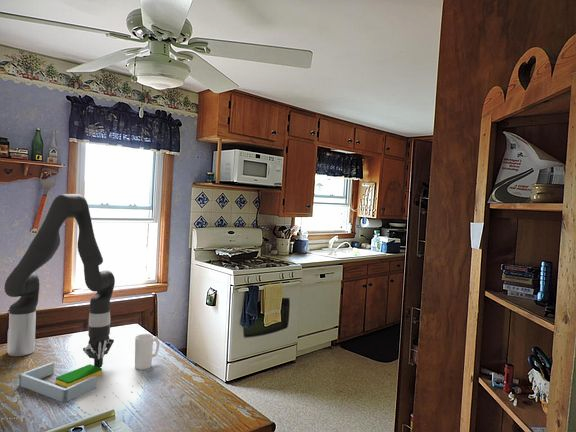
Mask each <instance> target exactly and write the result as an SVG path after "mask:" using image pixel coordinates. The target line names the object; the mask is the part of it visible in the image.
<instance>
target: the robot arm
mask: <svg viewBox="0 0 576 432" xmlns="http://www.w3.org/2000/svg"><path fill="white" fill-rule="evenodd" d="M71 218H72V219H73V218H74V219H75V221H76V223H77V225H78V226H77V227H78V238H77V251H78V254H79V257H80V259H81V262H82V264H83V274H84V283H85V285H86V287H87V289H89V291H92V292H95V293H96V294H95V295H94V296H92V297H91V298H90V301H89V315H88V331H87V332H88V337H89V340H88V342H87V343H88V344H87V346H86V347H83V348H82V351H83V352H84V353H85V354H86V356H88V357H89V359H93V362H94V363H93V365H94V366H97V367H100V368H102V367H103V364H104V357H105V355H108V353H109V351H110V349H111V347H112V346H113V344H114V342H115V340H114V339H112V338H110V334H111V313H110V312H111V299H112V296H113V292H114V288H115V283H116V281H115V280H116V279H115V276H114V274H113V273H112V272H113V271H110V270H102V271H100V266H101V265H102V264H103V263H104V258H103V256H102V252H101V251H100V248H99V246H98V243H97V241H96V237H95V232H94V228H93V223H92V217H91V213H90V207H89V205H88V202H87V199H86V198H85V196H83V195H82V194H78V193H62V194H58V195H57V196H55V198H54V199H53V200H52V203H51V204H50V206H49V209H48V212H47V214H46V216H45V218H44V221H43V222H42V224H41V226H40V227H39V230H38V232H37V233H36V234H35V236H34V237H33V239H32V241H31V242H30V244H29V246H28V248H27V249H26V251H25V253H24V255H23V256H22V258H21V259H20V261H19V262H18V264H17V265H16V266H15V267H14V269H13V270H12V271H11V272H10V274H9V275H8V276H7V278H6V280H5V283H4V292H5V295H7V296H8V297H10V298H17V297H18V298H19V299H18V300H17V301H15V302H13V303H12V304H11V305H10V306H9V310H8V314H9V315H8V330H7V347H6V353H7V355H8V356H10V357H22V356H27V355H30V354H33V353H34V352H35V351H36V350H35V347H36V346H35V344H36V322H37V321H36V320H37V319H36V318H37V314H36V313H37V306H38V304H39V296H40V295H39V294H40V279H39V276H38V275H37V274H36V273H35V272H36V271H37V270H39V269H40V268H41V267H43V266H44V265H46V264H47V263H48V262H49V261H50V260H51V259H52V258H53V257H54V255H55V254H56V252H57V251H58V249H59V247H60V244H61V236H60V229H61V227H62V226H63V223H65V221H66V220H67V219H71Z"/></svg>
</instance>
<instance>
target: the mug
mask: <svg viewBox="0 0 576 432" xmlns="http://www.w3.org/2000/svg"><path fill="white" fill-rule="evenodd" d="M134 338H135V339H134V340H135V341H134V342H135V343H134V347H135V348H134V368H135V369H137V370H141V371H142V370H148V369H150V368H151V367H152V362H153V358H155V357H157V355H158V352H159V350H160V341H159V339H158V338H159V337H158V336H154V335H153V334H151V333H150V334H149V333H142V334H137V335H136V336H135V337H134ZM154 342H155V344H156V347H155V350H154V352H153V349H154Z"/></svg>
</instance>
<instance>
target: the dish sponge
mask: <svg viewBox="0 0 576 432" xmlns="http://www.w3.org/2000/svg"><path fill="white" fill-rule="evenodd" d="M102 372H103V368H102V367H97V366H94V364H87V365H85V366H81V367H79V368H76V369H74V370H71V371H69V372H66V373H63V374H61V375H58V376H56V377H55V384H56V385H58V386H61V387H63V388H68V387H70V386H72V385H74V384H77V383H79V382H81V381H84V380H86V379H88V378H90V377H93V376H96V377H97V376H100V375H101V374H102Z"/></svg>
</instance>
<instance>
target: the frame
mask: <svg viewBox="0 0 576 432" xmlns="http://www.w3.org/2000/svg"><path fill="white" fill-rule="evenodd" d="M54 373H55V362H53V361H52V362H49V363H47V364H44V365H41V366H38V367H36V368H33V369H30V370H27V371H25V372H22V373H19V376H18V377H19V381H18V386H20V387H21V388H25V389H27V390H30V391H32V392H34V393H35V392H36V393H37V394H41V395H43V396H45V397H48V398H51V399H54V400H56V401H59V402H62V403H66V402H69V401H71V400H73V399H75V398H77V397H79V396H81V395H83V394H85V393H87V392H90V391H92V390H94V389H95V388H97V376H93V377H90V378H88V379H86V380H84V381H81V382H79V383H77V384H74V385H72V386H70V387H68V388H67V387H64V386H61V385H58V384H54V383H52V382H49V381H45V380H43V378H45V377H48V376H50V375H53V374H54Z"/></svg>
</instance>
